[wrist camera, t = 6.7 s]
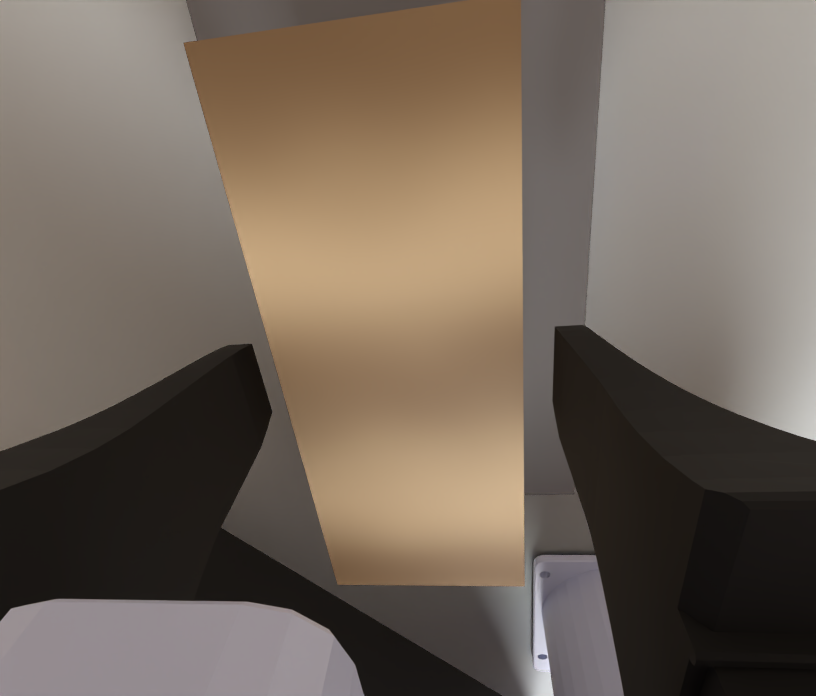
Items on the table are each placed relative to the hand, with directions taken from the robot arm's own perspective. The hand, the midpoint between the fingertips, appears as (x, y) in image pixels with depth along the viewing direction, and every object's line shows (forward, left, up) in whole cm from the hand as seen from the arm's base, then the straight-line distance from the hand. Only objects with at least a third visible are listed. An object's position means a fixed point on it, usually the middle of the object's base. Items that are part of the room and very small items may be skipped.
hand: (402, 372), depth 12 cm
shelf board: (0, 0, -3) cm, 3 cm away
